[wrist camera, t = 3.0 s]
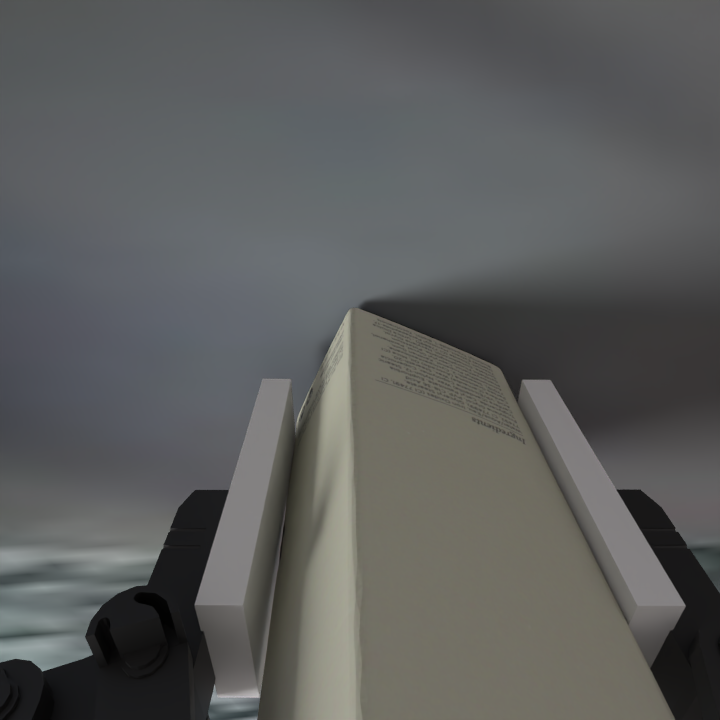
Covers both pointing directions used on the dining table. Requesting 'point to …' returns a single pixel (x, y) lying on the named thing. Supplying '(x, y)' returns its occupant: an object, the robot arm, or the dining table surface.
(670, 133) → the dining table surface
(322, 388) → the box
